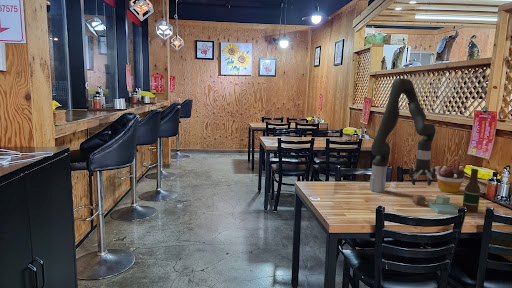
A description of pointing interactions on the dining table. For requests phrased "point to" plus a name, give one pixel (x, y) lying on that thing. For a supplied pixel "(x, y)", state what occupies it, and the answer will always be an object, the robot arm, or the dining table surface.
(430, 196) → the dining table surface
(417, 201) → the walnut block
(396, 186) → the dining table surface
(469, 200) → the beer bottle
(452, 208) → the teal tray
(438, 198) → the sage block
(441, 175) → the bucket of meat
